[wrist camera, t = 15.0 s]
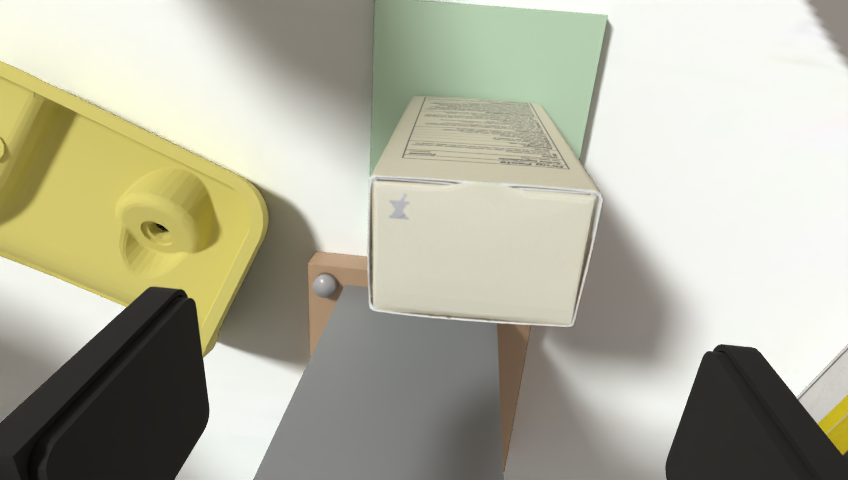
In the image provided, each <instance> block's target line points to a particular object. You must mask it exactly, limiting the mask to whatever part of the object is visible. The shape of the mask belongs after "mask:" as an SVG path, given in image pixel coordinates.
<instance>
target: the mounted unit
mask: <svg viewBox="0 0 848 480" xmlns="http://www.w3.org/2000/svg"><path fill="white" fill-rule="evenodd" d="M308 290H309V330H310V360H309V362H308V364H307V367H306V369H305V371H304V373H303V375H302V377H301V379H300V381H299V384H298V386H297V388H296V390H295V392H294V394H293V396H292V398H291V401H290V403H289V405H288V407H287V409H286V411H285V413H284V415H283V418H282V420H281V422H280V424H279V426H278V428H277V430H276V432H275V435H274V437H273V439H272V441H271V443H270V445H269V447H268V449H267V452H266V454H265V456H264V458H263V460H262V462H261V464H260V466H259V469H258V471H257V473H256V475H255V477H254V479H253V480H503V472H504V470H505V465H506V459H507V454H508V448H509V443H510V438H511V432H512V427H513V421H514V416H515V410H516V405H517V399H518V394H519V388H520V383H521V377H522V372H523V366H524V361H525V355H526V350H527V344H528V339H529V333H530V328H531V325H517V324H501V323H488V322H474V321H461V320H448V319H437V318H427V317H417V316H408V315H400V314H391V313H386V312H377V311H373V310H372V309H370V307H369V295H368V257H364V256H354V255H345V254H336V253H326V252H317V251H316V252H315V253H314V255H313V257H312V258H311V260H310V261H309V263H308Z"/></svg>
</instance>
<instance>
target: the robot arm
mask: <svg viewBox="0 0 848 480" xmlns="http://www.w3.org/2000/svg"><path fill="white" fill-rule="evenodd" d="M208 418H209V402H208V394H207V387H206V379H205V371H204V363H203V355H202V347H201V340H200V332H199V324H198V316H197V308H196V303H195V301H194V299H192V298H188V296H187V294H186V292H185V291H184V290H182V289H174V288H164V287H149V288H148V289H146V290H145V291H144V292H143V293H142V294H141V295H140V296H138V297H137V298H136V299H135V300H134V301H133V302H132V303H131V304H130V305H129V306H128V307H126V308H125V309H124V310H123V311H122V312H121V313H120V314H119V315H118V316H117V317H116V318H114V319H113V320H112V321H111V322H110V323H109V324H108V325H107V326H106V327H105V328H104V329H102V330H101V331H100V332H99V333H98V334H97V335H96V336H95V337H94V338H93V339H91V340H90V341H89V342H88V343H87V344H86V345H85V346H84V347H83V348H82V349H81V350H79V351H78V352H77V353H76V354H75V355H74V356H73V357H72V358H71V359H70V360H69V361H67V362H66V363H65V364H64V365H63V366H62V367H61V368H60V369H59V370H58V371H57V372H55V373H54V374H53V375H52V376H51V377H50V378H49V379H48V380H47V381H46V382H45V383H43V384H42V385H41V386H40V387H39V388H38V389H37V390H36V391H35V392H34V393H33V394H31V395H30V396H29V397H28V398H27V399H26V400H25V401H24V402H23V403H22V404H21V405H19V406H18V407H17V408H16V409H15V410H14V411H13V412H12V413H11V414H10V415H9V416H7V417H6V418H5V419H4V420H3V421H2V422H1V423H0V480H174V479H175V477H176V476H177V474H178V472H179V471H180V469H181V468H182V466H183V464H184V463H185V461H186V459H187V458H188V456H189V454H190V453H191V451H192V450H193V448H194V446H195V445H196V443H197V441H198V440H199V438H200V436H201V435H202V433H203V431H204V430H205V428H206V425H207V422H208ZM666 478H667V480H848V461H847V460H846V459H845V458H844V456H843V455H842V454H841V453H840V451H839V450H838V449H837V448H836V446H835V445H834V444H833V443H832V441H831V440H830V439H829V438H828V436H827V435H826V434H825V433H824V431H823V430H822V429H821V428H820V427H819V425H818V424H817V423H816V422H815V420H814V419H813V418H812V417H811V415H810V414H809V413H808V412H807V410H806V409H805V408H804V407H803V405H802V404H801V403H800V402H799V400H798V399H797V398H796V397H795V395H794V394H793V393H792V392H791V390H790V389H789V388H788V387H787V385H786V384H785V383H784V382H783V380H782V379H781V378H780V377H779V375H778V374H777V373H776V372H775V370H774V369H773V368H772V367H771V365H770V364H769V363H768V362H767V360H766V359H765V358H764V357H763V355H762V354H761V353H760V352H759V351H758V350H757V349H755V348H752V347H742V346H733V345H723V344H721V345H718V346H717V347H716V348H715V349H714V350H713V352H712V351H709V352H706V353H705V354H704V356H703V358H702V361H701V364H700V366H699V369H698V372H697V375H696V378H695V381H694V384H693V386H692V389H691V392H690V395H689V398H688V401H687V403H686V406H685V409H684V412H683V415H682V418H681V420H680V423H679V426H678V429H677V432H676V435H675V437H674V440H673V443H672V446H671V449H670V452H669V455H668V457H667V461H666Z"/></svg>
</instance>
